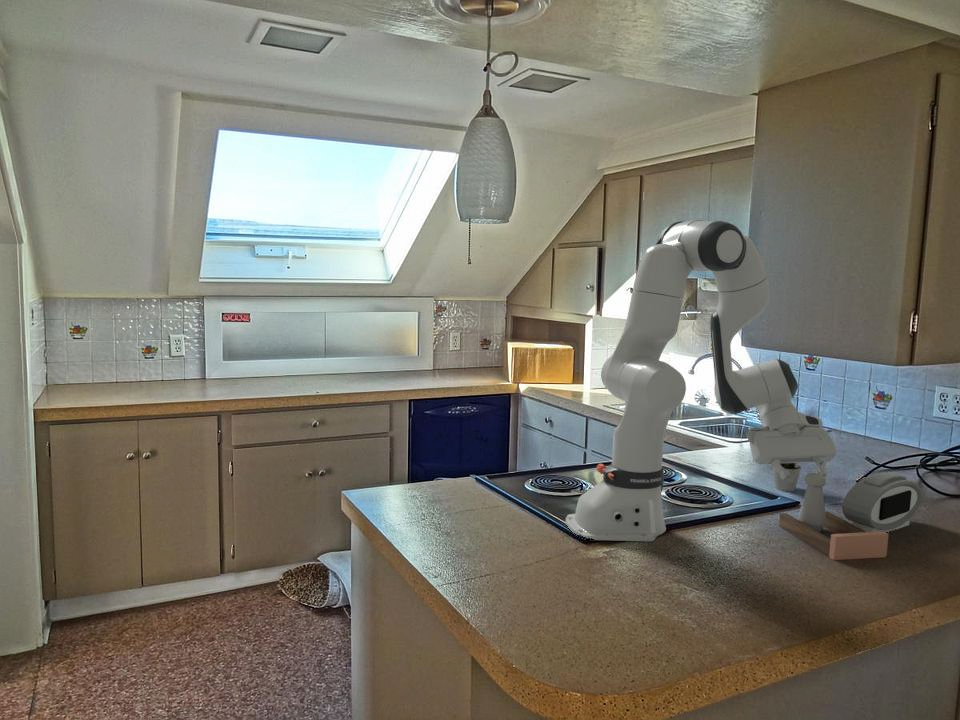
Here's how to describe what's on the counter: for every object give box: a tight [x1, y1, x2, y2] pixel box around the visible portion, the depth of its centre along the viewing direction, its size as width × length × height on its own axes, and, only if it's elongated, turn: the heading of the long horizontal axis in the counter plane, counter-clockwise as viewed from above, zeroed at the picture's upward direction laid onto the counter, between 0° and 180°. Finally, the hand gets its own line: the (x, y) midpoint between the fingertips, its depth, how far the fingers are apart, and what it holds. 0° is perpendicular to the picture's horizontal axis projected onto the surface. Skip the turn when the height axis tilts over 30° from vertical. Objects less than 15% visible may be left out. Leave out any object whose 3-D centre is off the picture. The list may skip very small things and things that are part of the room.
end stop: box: [828, 531, 889, 561], centre depth 153 cm, size 12×2×5 cm, turn 100°
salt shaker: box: [797, 472, 827, 533], centre depth 168 cm, size 6×6×13 cm
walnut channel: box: [778, 510, 866, 558], centre depth 163 cm, size 12×18×3 cm
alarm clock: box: [841, 472, 923, 533], centre depth 170 cm, size 23×6×13 cm, turn 123°
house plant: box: [772, 463, 802, 492], centre depth 199 cm, size 14×14×16 cm
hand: (804, 477), depth 171 cm, fingers open, 8 cm apart
